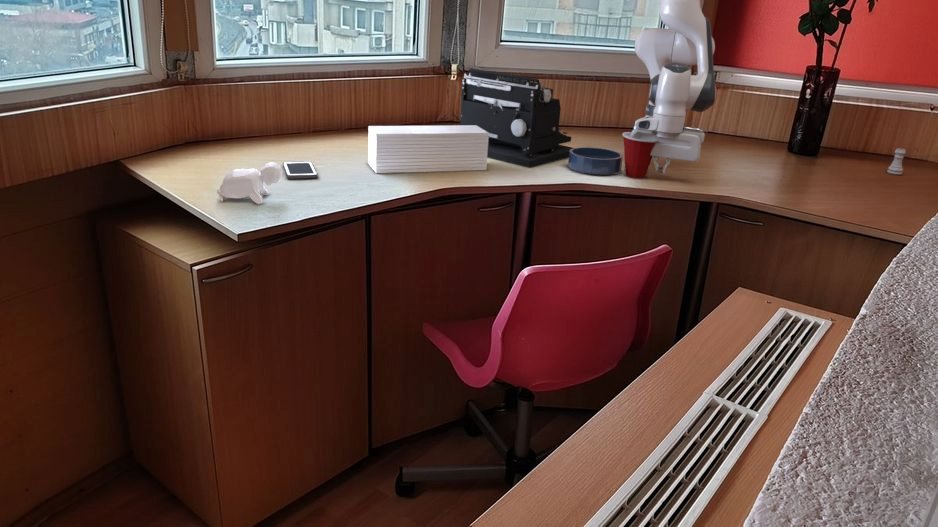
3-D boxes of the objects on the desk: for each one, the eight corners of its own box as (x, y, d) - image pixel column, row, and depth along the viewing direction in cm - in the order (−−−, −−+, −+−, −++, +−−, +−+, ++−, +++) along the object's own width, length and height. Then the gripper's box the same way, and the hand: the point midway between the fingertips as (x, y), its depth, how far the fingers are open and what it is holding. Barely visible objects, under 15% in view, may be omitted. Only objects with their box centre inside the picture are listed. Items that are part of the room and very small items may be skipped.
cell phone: (311, 164, 199) (311, 161, 199) (318, 178, 186) (317, 174, 186) (282, 165, 197) (282, 161, 196) (287, 179, 184) (287, 175, 183)
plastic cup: (655, 182, 202) (661, 140, 198) (616, 178, 204) (621, 136, 200) (655, 173, 212) (660, 133, 208) (618, 170, 214) (622, 130, 210)
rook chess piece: (900, 172, 233) (907, 148, 230) (903, 176, 229) (910, 151, 226) (885, 171, 234) (892, 146, 231) (887, 174, 230) (894, 149, 227)
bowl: (576, 160, 223) (578, 144, 221) (625, 168, 217) (628, 152, 215) (560, 170, 209) (562, 154, 207) (613, 179, 204) (615, 162, 202)
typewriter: (578, 155, 230) (587, 75, 221) (529, 167, 210) (537, 80, 201) (502, 138, 248) (508, 63, 239) (450, 148, 229) (454, 67, 219)
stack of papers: (474, 161, 214) (476, 125, 210) (486, 170, 205) (488, 132, 201) (368, 163, 204) (368, 126, 200) (375, 173, 195) (376, 133, 191)
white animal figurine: (226, 216, 164) (287, 194, 163) (209, 182, 160) (272, 160, 160) (234, 205, 171) (292, 184, 171) (218, 172, 168) (278, 151, 168)
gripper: (707, 127, 199) (698, 175, 204) (634, 118, 206) (627, 165, 211) (704, 130, 194) (695, 180, 199) (629, 121, 201) (622, 169, 206)
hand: (660, 172), depth 205 cm, fingers closed
